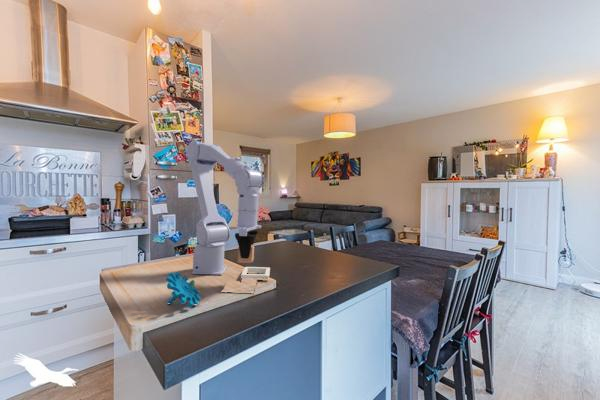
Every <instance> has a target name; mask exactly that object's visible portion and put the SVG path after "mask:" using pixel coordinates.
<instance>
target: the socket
mask: <svg viewBox="0 0 600 400" xmlns="http://www.w3.org/2000/svg"><path fill="white" fill-rule="evenodd" d="M248 272H255V273H248ZM247 273H248V274H247ZM257 273H259V274H257ZM270 273H271V267H268V266H267V267H266V266H262V267H261V266H260V267H259V266H245V267H244V269H243V270H242V273H241V274H240V279H241V278H254V279H255V278H262V279H264V278H265V279H268V278H269V279H270Z"/></svg>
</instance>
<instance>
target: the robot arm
mask: <svg viewBox="0 0 600 400" xmlns="http://www.w3.org/2000/svg"><path fill="white" fill-rule="evenodd" d="M185 153H186V156H187V162H188V167H189V168H190V169H191V173H192V177H193V182H194V183H193V184H194V187H195V191H196V196H197V201H198V204H199V209H200V213H201V214H200V215H201V219H200V220H199V221H198V222H197V223H196V224H195V228H196V232H195V235H196V241H197V242H198V243H197V244H196V245H195V246H194V249H193V254H192V256H193V257H192V272H191V274H193V275H214V276H215V275H218V276H219V275H220V276H221V274H222V273H223V274H224V272H225V271H227V268H228V266H226V265H225V249H226V248H225V245H228V244H227V243H228V241H230V238H231V229H230V227H229V225H228V223H227V220H226V218H225V217H223V216H221V215H220V214H219V211H218V207H217V202H216V199H215V194H214V189H213V185H212V183H211V177H210V171H213V170H214V169H215V166H216V165H217V164H220V165H221V166H223V171H224V172H225V173H226V174H227V175H228V176H229V177H230V178H232V179H233V180H234V183H235V186H236V189H237V190H236V193H237V195H238V207H237V208H238V209H237V224H236V228H237V230H239V231H238V232H235V234H234V238H235V239H236V241H237V244H238V247H239V250H240V255H241V258H249V255H250V250H251V245H255V244H254V243H255V240H256V237H257V235H258V233H259V230H257V229H262V225H260V224H258V216H259V215H258V212H259V198H260V197H259V195H260V189H261V188H262V186H263V185H264V180H265V179H264V175H263V173H262V172H261V171H260V170H259V169H252V168H251V166H250V165H249V164H246V163H244V162H243V161H242V158H240V157H238V156H235V157H233V156H232V157H230V156H229V154H227V153H226V152H225V151H224V150H223V149H222V147H221V146H219V144H216V143H215V144H214V143H213V144H211V143H207V142H201V141H198V140H191V141H190V142H189V143H188V146H187V148H186V152H185ZM223 274H222V275H223Z"/></svg>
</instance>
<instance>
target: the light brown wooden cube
mask: <svg viewBox="0 0 600 400" xmlns="http://www.w3.org/2000/svg"><path fill="white" fill-rule="evenodd" d="M237 253H238V254H237V263H240V264H242V263H243V264H244V263H245V264H253V262H254V259H255V244H253V245H251V250H250V255H249V258H241V255H240V250H239V246H238V249H237Z"/></svg>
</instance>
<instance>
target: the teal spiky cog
mask: <svg viewBox="0 0 600 400" xmlns="http://www.w3.org/2000/svg"><path fill="white" fill-rule="evenodd" d="M181 277H182V274H181V273H180V272H178V271H177V272H176V273H175V272H173V271H172V272H170V273H169V274H168V276H167V277H166V278H165V281H167V284H166V287H167V289H168V290H172V292H171V295H172V297H170V298H169V299H168V300H167V301H166V304H167V303H171V304H172V303H173V302H175V301H176V300H177V299H178V298H179V299H178V302H179V303H180V304H181V305H184V304H186V305H187V307H189V308H192V307H194V304H198V302H199V301H201V299H202V297H201V296H200V295H199V293H200V290H199V289H197V288H195V286H196V285H195V283H196V282H195V280H193V279H191V280H190V281H189V282H187V281H188V280H189V278H188V277H187V276H186V275H184V276H183V277H182V278H181ZM198 300H199V301H198ZM199 303H200V302H199ZM198 305H199V304H198Z"/></svg>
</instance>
